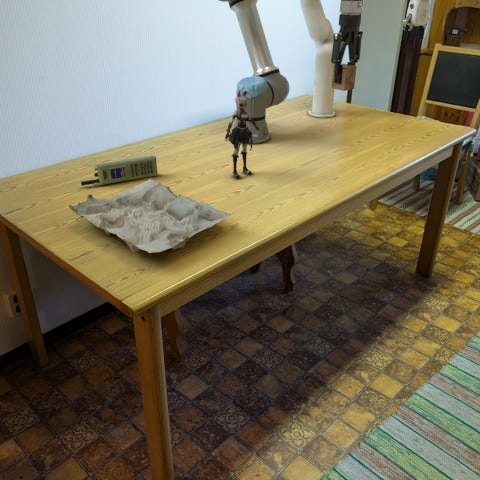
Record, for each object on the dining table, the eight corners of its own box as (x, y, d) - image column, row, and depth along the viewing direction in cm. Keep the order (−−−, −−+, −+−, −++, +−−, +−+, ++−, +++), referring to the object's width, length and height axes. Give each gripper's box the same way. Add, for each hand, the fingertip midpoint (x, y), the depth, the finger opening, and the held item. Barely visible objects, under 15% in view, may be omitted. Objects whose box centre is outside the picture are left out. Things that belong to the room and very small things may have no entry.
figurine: (229, 182, 166) (230, 89, 151) (218, 177, 170) (217, 86, 155) (261, 171, 175) (264, 82, 160) (249, 166, 178) (251, 79, 164)
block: (343, 91, 185) (346, 67, 181) (331, 88, 189) (333, 65, 185) (354, 88, 188) (356, 66, 184) (341, 85, 192) (344, 63, 188)
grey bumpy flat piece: (148, 192, 160) (63, 221, 139) (147, 174, 157) (60, 201, 136) (236, 233, 139) (152, 274, 118) (238, 213, 136) (151, 251, 115)
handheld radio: (158, 176, 170) (83, 189, 160) (155, 173, 172) (80, 186, 162) (156, 157, 167) (79, 169, 157) (153, 154, 169) (77, 166, 159)
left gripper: (340, 16, 168) (334, 87, 180) (376, 13, 179) (367, 80, 190) (324, 14, 173) (318, 83, 185) (359, 11, 184) (351, 76, 195)
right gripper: (416, -4, 200) (408, 42, 208) (440, -5, 210) (432, 39, 218) (400, -5, 205) (393, 40, 213) (424, -6, 215) (416, 37, 223)
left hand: (343, 81), depth 188 cm, fingers closed on block, 6 cm apart
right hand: (412, 39), depth 216 cm, fingers open, 9 cm apart
